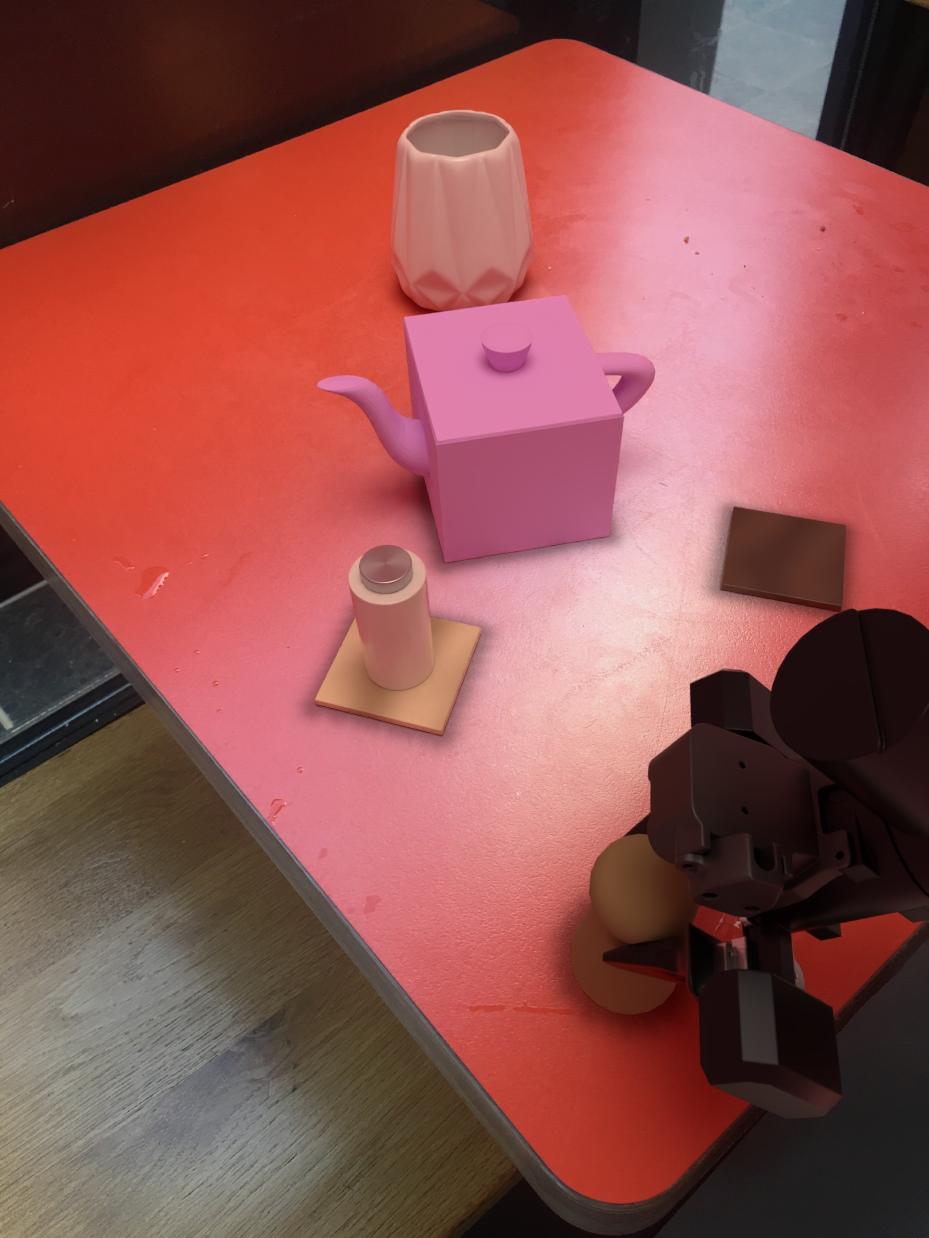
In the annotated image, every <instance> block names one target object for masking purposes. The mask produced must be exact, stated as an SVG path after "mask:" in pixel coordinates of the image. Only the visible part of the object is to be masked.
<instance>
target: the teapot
mask: <svg viewBox="0 0 929 1238" xmlns="http://www.w3.org/2000/svg"><path fill="white" fill-rule="evenodd" d="M402 324H403V331H404V332H403V333H404V334H403V335H404V343H405V355H406V364H407V376H408V385H409V396H410V405H411V417H408V416H404V415H402V414H400V412H398V411H397V410H396V409H395V408H394V406H393V405H392V403H391V402H390V400H389V397H387V395H386V394H385V392H384V391H383V390H382V389H381V387H380V386H379V385H378V384H377V383H375V382H373V380H372V381H371V380H370V379H367V378H366V377H362V376H358V375H352V374H351V375H347V374H346V375H335V376H334V375H333V376H330V377H326V378H323V379H321V380H319V381H318V382H317V383H316V386H317V388H318V389H320V390H322V391H323V392H327V393H331V394H334V395H337V396H338V395H339V396H341V397H345V398H346V399H348V400H350V401H351V402H352V403H354V404H355V405H357V406H358V408H360V410H362V412H363V413H364V415H365V416H366V418H367V419H368V421H369V423H370V424H371V425H370V426H372V428H373V430H374V432H375V434H376V436H377V438H378V440H379V442H380V444H381V445H382V447H383V449H384V450H385V452H386V453H387V455H388V456H389V457H390V458H391V460H392V461H393V462H395V463H396V464H397V465H399V466H400V467H401V468H402V469H404V470H406V471H409V472H410V473H411V474H415V475H418V476H422V477H423V479H424V482H425V486H426V491H427V494H428V499H429V504H430V507H431V511H432V517H433V519H434V524H435V528H436V532H437V536H438V539H439V543H440V548H441V552H442V556H443V560H444V563H445V564H446V563H447V564H448V563H451V562H453V563H454V562H460V561H464V560H472V559H477V558H483V557H490V556H495V555H502V554H508V553H513V552H520V551H527V550H533V549H539V548H545V547H551V546H556V545H562V544H563V545H564V544H569V543H575V542H581V541H587V540H593V539H600V538H606V537H610V535H611V528H612V518H613V511H614V504H615V503H614V502H615V495H616V487H617V479H618V472H619V463H620V456H621V455H620V454H621V447H622V438H623V431H624V424H625V423H624V422H625V415H624V414H626V413H627V412H629V410H631V409H632V408H634V406H635V405H636V404H637V403H638V402H640V400H641V399H642V398H643V397H644V396H645V394H647V392H648V391H649V389H650V388H651V386H652V384H653V383H654V381H655V377H656V368H655V365H654V363H653V362H652V361H651V360H650V359H649V358H648V357H646V356H644V355H642V354H640V353H639V354H638V353H633V352H626V351H625V352H624V351H618V352H617V351H614V352H613V351H612V352H610V351H608V352H607V351H606V352H596V353H595V351H594V348H593V347H592V344H591V343H590V340H589V338H588V336H587V334H586V332H585V330H584V328H583V326H582V324H581V322H580V320H579V318H578V315H577V314H576V311H575V310H574V308H573V306H572V304H571V302H570V300H569V298H568V296H567V294H561V295H554V296H548V297H541V298H533V299H532V298H531V299H526V300H519V301H508V302H506V303H501V304H494V305H487V306H480V307H473V308H466V309H459V310H452V311H445V312H439V311H437V312H432V313H425V314H418V315H417V314H416V315H410V316H409V315H408V316H404V317H403V318H402ZM607 376H619V377H620V379H619V380H618V382H617V383H616V384H615V386H614V387H613V388H612V386H611V385H610V383H609V381H608V378H607Z"/></svg>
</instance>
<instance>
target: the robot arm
mask: <svg viewBox="0 0 929 1238" xmlns="http://www.w3.org/2000/svg"><path fill="white" fill-rule="evenodd" d="M689 706H690V707H689V708H690V713H689V714H690V729H688V730H687V731H686V732H685V733H683V734H681V736H679V737H678V738H676V740H674V741H673V742H671V743H670V744H669V745H668V746H667V747H666V748H664V749H663V750H662V751H660V752H659V753H658V754H657V755H656V756H654V757H652V759H651V760H650V762H649V763H648V766H647V779H648V781H649V785H650V786H649V788H650V789H649V790H650V792H649V813H648V814H646V815H645V816H644V817H643V818H642V819H641V820H640V821H638V823H636V824H635V825H634V826H633V827H632V828H630V829H629V830H628V831H627V832H625V834H624V835H623V836H622V837H624V836H629V835H635V834H646V835H648V839H649V843H650V845H651V847H652V849H653V850H654V852H655V853H656V854H657V855H658V856H659V857H660V858H661V859H663V860H665V861H666V862H669V863H671V864H675V867H676V869H678V870H680V871H682V872H684V873H685V874H686V876H687V878H688V882H689V897H690V899H691V900H692V901H693V902H694V903H695V904H697V905H699V906H701V907H704V908H707V909H711V910H714V911H717V912H720V913H722V914H726V915H730V916H732V917H736V918H738V919H739V922H740V923H741V929H742V936H740V937H736V938H731V939H730V941H722V940H721V939H720V938H717V937H716V936H714V935H712V934H710V933H709V932H707V931H705V930H703V929H702V928H700V927H698V926H697V925H696V924H693V923H692V924H691V923H688V924H686V926H685V928H684V930H683V932H682V933H681V935H680V936H679V937H676V938H670V939H663V940H657V941H650V942H643V943H637V944H630V945H624V946H620V947H617V948H614V949H611V950H608V951H606V952H603V954H602V961H603V962H605V963H607V964H609V965H611V966H613V967H615V968H619V969H623V970H626V971H630V972H634V973H638V974H642V975H646V976H650V977H654V978H658V979H662V980H665V981H669V982H673V983H676V985H677V984H678V985H681V986H685V988H686V991H687V992H688V994H689V997H690V998H691V1000H693V1001H694V1002H695V1003H697V1004H698V1028H699V1029H698V1030H699V1031H698V1033H699V1064H700V1065H699V1066H700V1068H701V1070H702V1072H703V1074H704V1076H705V1078H706V1080H707V1083H708V1084H709V1086H711V1087H712V1088H714V1089H717V1090H720V1091H722V1092H724V1093H726V1094H728V1095H731V1096H733V1097H735V1098H737V1099H740V1100H742V1101H744V1102H746V1103H749V1104H750V1105H753V1106H756V1107H757V1108H760V1109H762V1110H764V1111H767V1112H769V1113H771V1114H774V1115H776V1116H778V1117H780V1118H782V1119H785V1120H793V1119H809V1118H822V1117H824V1116H825V1115H827V1114H828V1113H829V1112H830V1111H831V1110H832V1109H833V1108H834V1107H835V1106H836V1105H837V1104H838V1103H839V1102H840V1101H841V1099H843V1098H844V1093H843V1084H842V1083H843V1082H842V1074H841V1066H840V1057H839V1050H838V1041H837V1040H838V1039H837V1031H836V1023H835V1014H834V1006H831V1005H830V1004H828V1003H827V1002H825V1001H824V1000H821V999H819V998H818V997H817V996H814V995H812V994H811V993H809V992H807V991H806V982H805V976H804V972H803V970H802V968H801V965H800V964H799V962H798V961H797V959H796V958H795V955H794V944H793V934H796V933H801V932H805V933H807V934H809V935H810V936H812V937H813V938H815V939H817V940H818V941H820V942H822V941H827V940H832V939H837V938H842V936H843V935H842V927H841V924H846V923H851V922H855V921H860V920H861V921H862V920H866V919H870V918H876V917H879V916H885V915H889V914H891V915H892V914H895V913H898V914H900V915H901V916H902V917H904V919H907V920H908V921H910V922H911V923H912V924H915V923H921V922H925V921H929V628H928V627H927V626H926V625H924V624H923V623H922V622H920V621H919V620H918V619H916V618H915V617H914V616H913V615H911V614H908V613H906V612H902V611H899V610H897V609H891V608H881V607H880V608H879V607H873V608H866V609H859V610H857V609H855V608H848V609H845V610H843V611H838V612H837V613H834V614H832V615H831V616H829V617H827V618H825V619H824V620H822V621H820V622H818V623H817V624H815V625H814V626H813V627H812V628H811V629H809V630H808V631H806V632H805V633H804V634H803V635H801V636H800V638H799V639H798V640H797V641H796V642H795V644H793V646H792V647H791V648H790V649H789V651H788V652H787V653H786V654H785V656H784V658H783V660H782V661H781V663H780V665H779V667H778V668H777V671H776V673H775V677H774V679H773V682H772V685H771V690H770V689H769V688H768V687H767V686H766V685H764V684H763V683H762V682H761V681H759V680H758V678H756V677H754V676H753V675H752V674H751V673H750V672H748V671H746V670H742V669H735V668H720V669H719V670H716V671H714V672H712V673H709V674H706V675H704V676H701V677H700V678H697V679H695V680H694V681H691V682H690V683H689Z"/></svg>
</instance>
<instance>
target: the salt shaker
mask: <svg viewBox="0 0 929 1238" xmlns="http://www.w3.org/2000/svg"><path fill="white" fill-rule="evenodd" d="M347 582H348V587H349V592H350V593H349V594H350V598H351V603H352V608H353V613H354V619H355V618H356V623H357V628H358V633H359V638H360V643H361V648H362V653H363V659H364V664H365V669H366V672H367V674H368V676H369V677H370V679H371V680H372V681H373V682H374V683H376V684H377V685H379V686H380V687H383V688H386V689H389V690H406V689H410V688H413V687H415V686H417V685H419V684H421V683H422V682H423V681H425V680H426V679H427V678H428V677H429V675H430V674H431V672H432V670H433V667H434V663H435V657H434V647H433V637H432V626H431V607H430V597H429V588H428V587H429V586H428V578H427V569H426V566H425V564H424V562H423V560H422V559H421V558H420V557H419V556H418V555H417V554H416V553H414V552H413V551H411V550H408V549H407V548H403V547H400V546H397V545H394V544H393V545H392V544H382V545H377V546H375V547H372V548H370V549H369V550H368V551H366V552H365V553H363V554H362V555H360V556H359V557H357V559H356V560H355V561H354V562H353V563H352V565H351V567H350V568H349V571H348V575H347Z"/></svg>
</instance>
